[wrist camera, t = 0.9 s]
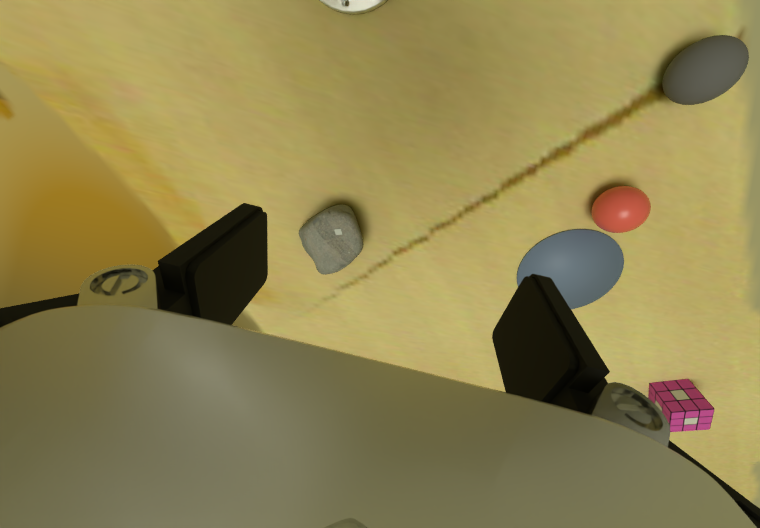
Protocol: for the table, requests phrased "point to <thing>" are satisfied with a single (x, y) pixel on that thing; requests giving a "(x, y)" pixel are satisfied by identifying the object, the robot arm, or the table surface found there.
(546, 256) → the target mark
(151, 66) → the table surface
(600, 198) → the object ball
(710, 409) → the puzzle toy
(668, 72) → the gray ball
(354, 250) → the stone
